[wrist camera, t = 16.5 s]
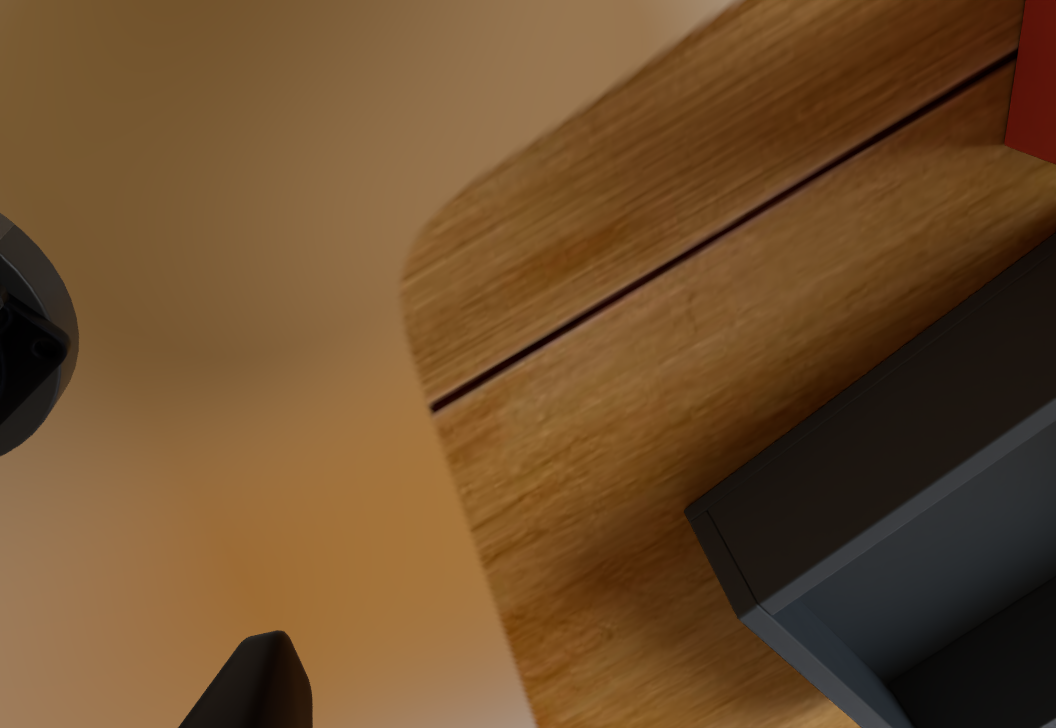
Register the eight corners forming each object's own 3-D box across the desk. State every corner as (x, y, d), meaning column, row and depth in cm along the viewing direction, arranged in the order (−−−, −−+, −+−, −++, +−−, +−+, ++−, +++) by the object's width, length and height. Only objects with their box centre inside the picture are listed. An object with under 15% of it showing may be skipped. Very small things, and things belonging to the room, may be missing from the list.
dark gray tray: (871, 688, 32) (941, 798, 28) (682, 509, 26) (737, 619, 22) (1238, 452, 28) (1376, 540, 24) (1121, 182, 22) (1281, 241, 18)
